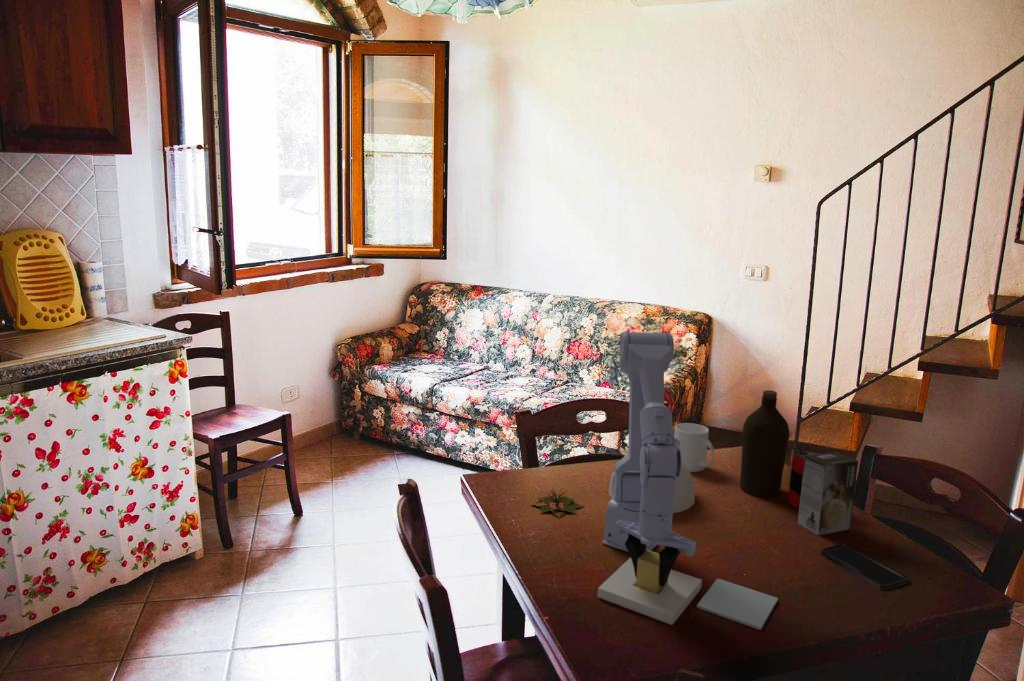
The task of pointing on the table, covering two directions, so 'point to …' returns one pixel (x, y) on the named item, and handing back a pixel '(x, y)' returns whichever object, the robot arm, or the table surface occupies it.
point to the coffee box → (827, 492)
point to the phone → (864, 566)
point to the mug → (694, 445)
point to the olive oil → (764, 449)
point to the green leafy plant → (564, 500)
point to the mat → (738, 603)
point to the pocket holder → (650, 593)
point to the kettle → (676, 489)
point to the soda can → (797, 478)
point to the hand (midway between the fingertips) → (651, 579)
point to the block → (649, 572)
